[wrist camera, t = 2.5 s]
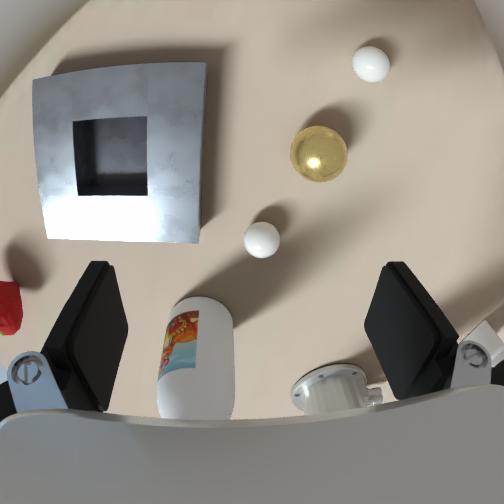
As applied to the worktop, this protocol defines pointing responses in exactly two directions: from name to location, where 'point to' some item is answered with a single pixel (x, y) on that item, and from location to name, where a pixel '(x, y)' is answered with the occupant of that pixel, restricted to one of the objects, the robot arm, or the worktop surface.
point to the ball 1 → (261, 239)
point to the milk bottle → (197, 362)
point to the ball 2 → (371, 64)
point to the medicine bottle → (489, 343)
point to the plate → (121, 151)
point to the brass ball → (318, 153)
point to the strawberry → (10, 308)
